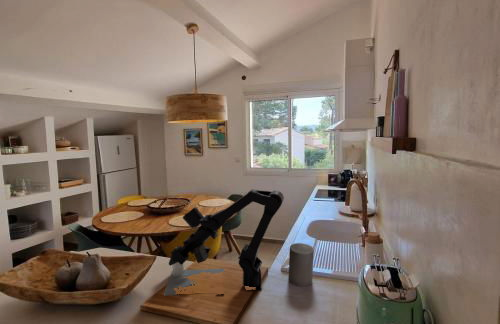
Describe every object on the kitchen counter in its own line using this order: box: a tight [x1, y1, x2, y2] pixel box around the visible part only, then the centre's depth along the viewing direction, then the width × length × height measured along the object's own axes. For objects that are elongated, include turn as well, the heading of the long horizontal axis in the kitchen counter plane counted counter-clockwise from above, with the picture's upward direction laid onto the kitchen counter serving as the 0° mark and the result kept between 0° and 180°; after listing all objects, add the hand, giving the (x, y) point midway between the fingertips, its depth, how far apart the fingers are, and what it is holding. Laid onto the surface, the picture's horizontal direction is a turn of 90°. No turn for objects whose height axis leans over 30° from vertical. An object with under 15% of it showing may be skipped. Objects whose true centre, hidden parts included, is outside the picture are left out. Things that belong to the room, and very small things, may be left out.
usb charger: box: [171, 262, 185, 277], centre depth 113 cm, size 4×4×11 cm
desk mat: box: [163, 268, 225, 296], centre depth 109 cm, size 22×18×1 cm
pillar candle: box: [288, 242, 315, 287], centre depth 111 cm, size 10×10×15 cm
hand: (175, 259), depth 113 cm, fingers open, 9 cm apart
